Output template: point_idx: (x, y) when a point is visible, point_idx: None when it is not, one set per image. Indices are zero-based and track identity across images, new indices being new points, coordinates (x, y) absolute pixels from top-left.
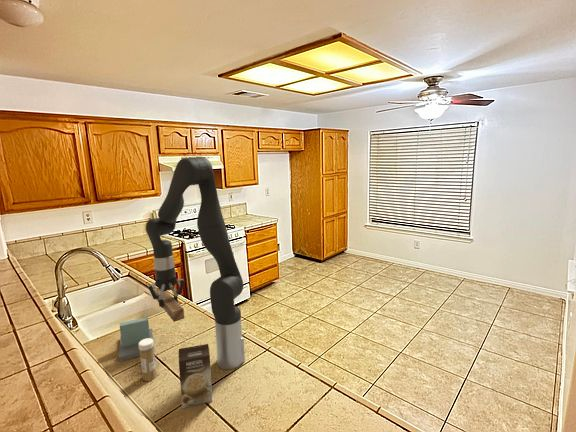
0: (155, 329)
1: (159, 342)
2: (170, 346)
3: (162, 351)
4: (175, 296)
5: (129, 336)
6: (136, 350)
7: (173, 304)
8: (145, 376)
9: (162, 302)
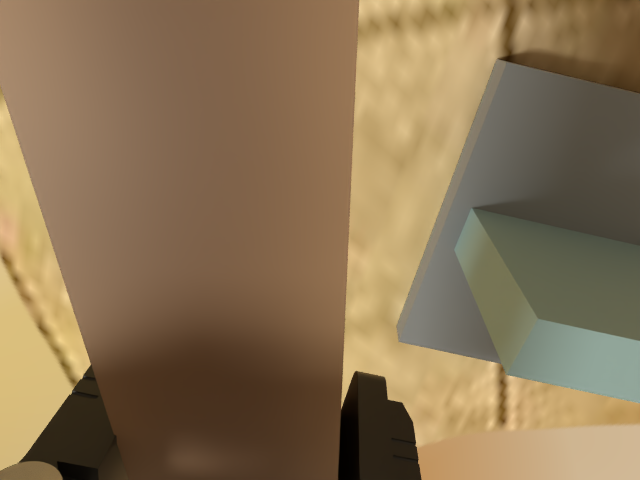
0: (371, 334)
1: (410, 167)
2: (364, 49)
3: (442, 19)
4: (51, 470)
5: None
6: (617, 134)
7: (172, 157)
8: None
9: (360, 453)
